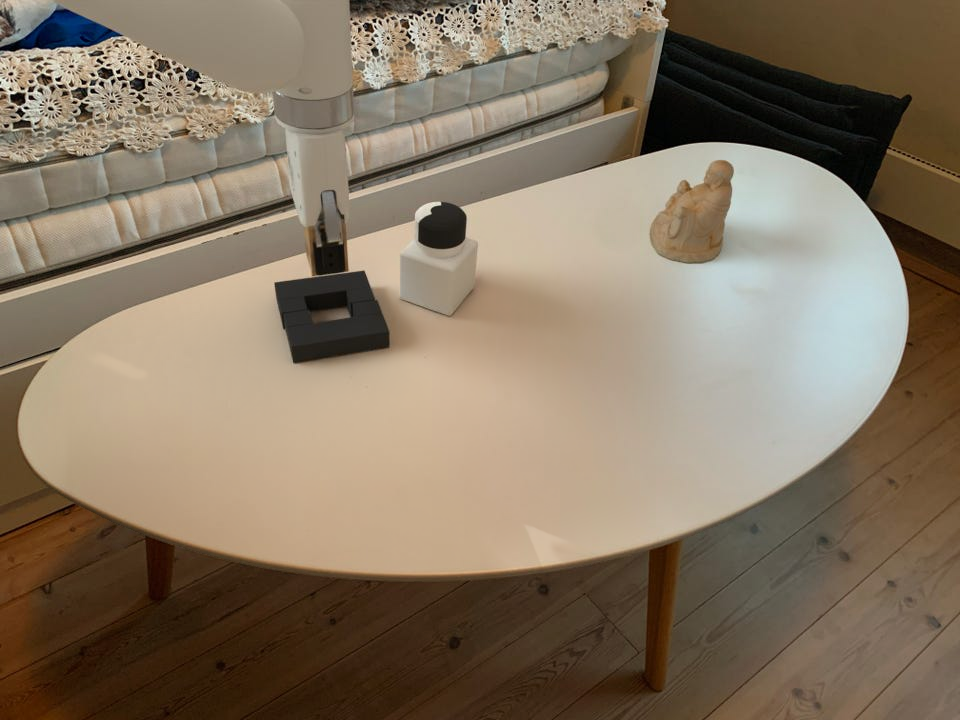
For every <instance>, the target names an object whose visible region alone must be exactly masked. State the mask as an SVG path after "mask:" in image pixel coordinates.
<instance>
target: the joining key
mask: <svg viewBox="0 0 960 720" xmlns="http://www.w3.org/2000/svg"><path fill="white" fill-rule="evenodd" d="M319 216H323V213H322V214H320V215H319ZM341 226H342V236H343V241H344V252H345V271H344V272H343V273H349V272H350V271H349V254H348V237H347V236H348V235H347V234H348V233H347V225H346V222H345V223H343V221H341ZM323 231H325V225H320V232H321V233H322V232H323ZM303 236H304V245H305V254H306V260H307V262H308V267H309V270H310V273H311V276H312V277H319V276H318V275H317V274H316V271H315V262H314V252H313V243H314V242H315V234H314V226H309V227H305V226H303Z"/></svg>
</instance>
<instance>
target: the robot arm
mask: <svg viewBox="0 0 960 720" xmlns="http://www.w3.org/2000/svg"><path fill="white" fill-rule="evenodd" d="M50 1H51V2H53V4H57V6H60V7H62V8H63V9H66V10H68V11H70V12H72V13H74V14H76V15H79V16H81V17H83V18H86V19H88V20H90V21H92V22H94V23H96V24H99V25H100V26H103V27H105V28H107V29H110V30H112V31H113V32H116V33H118V34H119V35H122V36H123V37H125V38H127V39H129V40H131V41H133V42H135V43H136V44H139V45H141V46H142V47H145V48H146V49H149V50H151V51H153V52H155V53H157V54H159V55H161V56H163V57H165V58H167V59H169V60H171V61H172V62H175V63H177V64H179V65H182V66H183V67H186V68H188V69H189V70H192V71H194V72H197V73H199V74H202V75H203V76H206V77H208V78H211V79H213V80H214V81H217V82H219V83H222V84H224V85H226V86H228V87H231V88H233V89H236V90H238V91H241V92H244V93H249V94H254V95H255V94H257V95H260V94H261V95H262V94H270V93H271V95H272V103H273V111H274V117H275V122H276V123H277V124H278V126H280V127H281V128H283V129H285V132H284V133H285V143H286V144H285V145H286V155H287V168H288V182H289V183H288V184H289V190H290V192H291V196H292V200H293V204H294V207H295V210H296V213H297V217H298V220H299V222H300V224H301V225H302V226H303V227H304V226H305V227H309V226H314V234H315V242H314V243H313V252H314V262H315V271H316V274H317V275H318V276H317V277H319V276H326V275H334V274H341V273H345V272H344V271H345V252H344V241H343V236H342V226H341V221H343V223H345V224H346V222H348V221H349V220H350V219H349V218H350V192H349V191H350V188H349V173H348V171H349V170H348V159H347V147H346V146H347V145H346V134H345V129H346V128H348V127H349V126H350V125H352V123H353V122H354V120H355V101H354V99H355V97H354V79H353V78H354V76H353V56H352V55H353V52H352V36H351V35H352V32H351V31H352V30H351V11H350V10H351V9H350V8H351V7H350V0H50ZM322 213H323V216H319V215H320V214H322ZM320 225H325V231H323V232H322V233H321V232H320Z"/></svg>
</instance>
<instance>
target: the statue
mask: <svg viewBox="0 0 960 720" xmlns="http://www.w3.org/2000/svg"><path fill="white" fill-rule="evenodd" d="M734 172H735V169H734V166H733V164H732V163H730V162H729V161H727V160H726V159H717V160H713V161H712V162H710V163H709V166H708V167H707V169H706V170H705V176H704V177H703V182H702V183H699V184H696V185H694V186H693V187H691V184H690V183H689V181H687V180H686V179H683V180H681V181H680V182H679V184H678V185H677V187H676V191H675V192H674V193H672V194H671V195H670V197H669V198H668V200H667V201H666V203H665V206H664V207H665V209H664V210H662V211H659V212H658V214H657V215H656V216H655V217H654V219H653V222H652V223H651V226H650V229H649V238H650V243H651V245H652V247H653V248H654V251H656V254H657V255H660V256H662V257H663V258H666V259H668V260H671V261H676V262H681V263H684V264H686V263H687V264H694V263H697V264H702V263H705V262H710V261H712V260H714V259H716V257H718V256H719V255H720V252H721V251H722V248H723V243H724V233H725V227H726V219H727V216H728V212H729V210H730V207H731V204H732V201H731V200H732V197H733V186H732V179H733V177H734V174H735V173H734Z"/></svg>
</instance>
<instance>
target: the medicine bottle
mask: <svg viewBox="0 0 960 720" xmlns="http://www.w3.org/2000/svg"><path fill="white" fill-rule="evenodd" d="M467 221H468V217H467V214H466V212H465V210H463V208H461V207H460V206H458V205H457V204H454V203H452V202H446V201H433V202H428V203H425V204H423V205H421V206H420V207H419V208H418V209H417V210H416V211H415V214H414V238H413V239H412V240H411V241H410V242H409V243H408V244H407V245H406V246H405V247H404V248H403V249H402V250H401V251H400V253H399V299H401V300H402V301H405V302H408V303H411V304H413V305H417V306H418V307H422V308H424V309H428V310H429V311H430V310H431V311H433V312H436V313H439V314H442V315H445V316H446V317H450V316H452V315H453V314H454V313H455V311H456V310H457V309H458V308H459V306H461V304H462V303H463V301H464V300H465V299H466V298H467V296H469V295H470V293H471V291H472V290H473V289H474V288H475V286H476V285H475V284H476V270H477V260H478V250H479V249H478V246H479V243H478V240H475V239H472V238H469V237H467V223H468V222H467Z"/></svg>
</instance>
